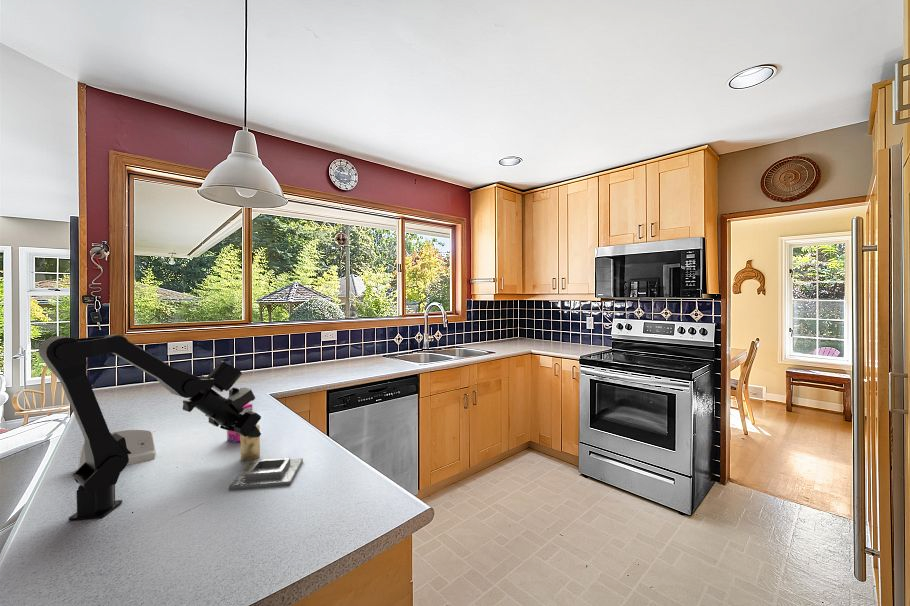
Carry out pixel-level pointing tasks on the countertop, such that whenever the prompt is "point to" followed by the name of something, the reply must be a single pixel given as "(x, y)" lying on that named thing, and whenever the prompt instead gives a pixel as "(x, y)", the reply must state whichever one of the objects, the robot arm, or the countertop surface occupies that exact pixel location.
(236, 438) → the supplement box
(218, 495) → the countertop surface
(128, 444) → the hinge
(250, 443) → the brass cylinder
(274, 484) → the flange plate
